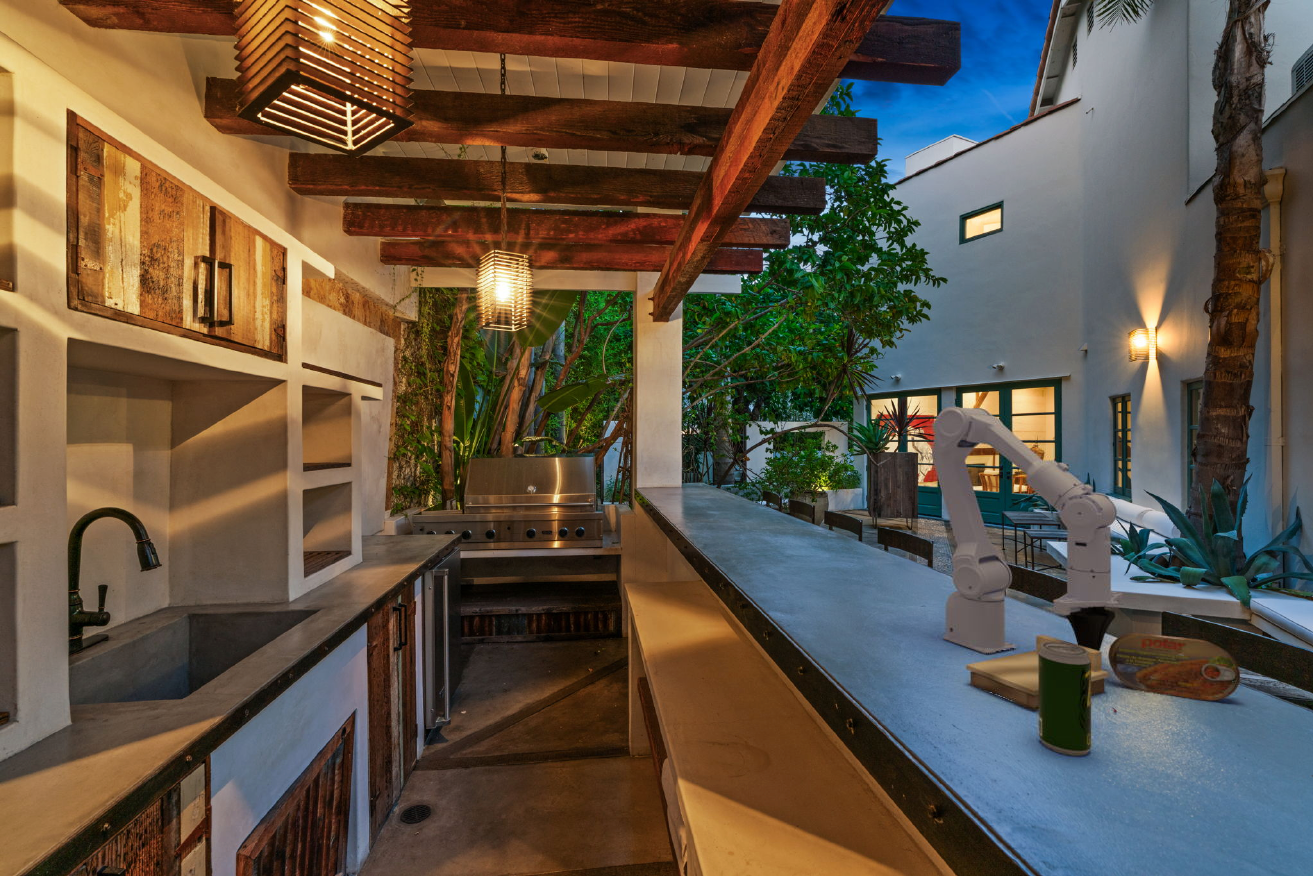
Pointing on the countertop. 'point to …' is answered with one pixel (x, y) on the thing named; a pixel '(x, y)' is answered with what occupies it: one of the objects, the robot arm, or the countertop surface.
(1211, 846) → the countertop surface
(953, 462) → the robot arm
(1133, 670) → the tin
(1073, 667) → the beer can
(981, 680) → the box
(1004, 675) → the cover plate
